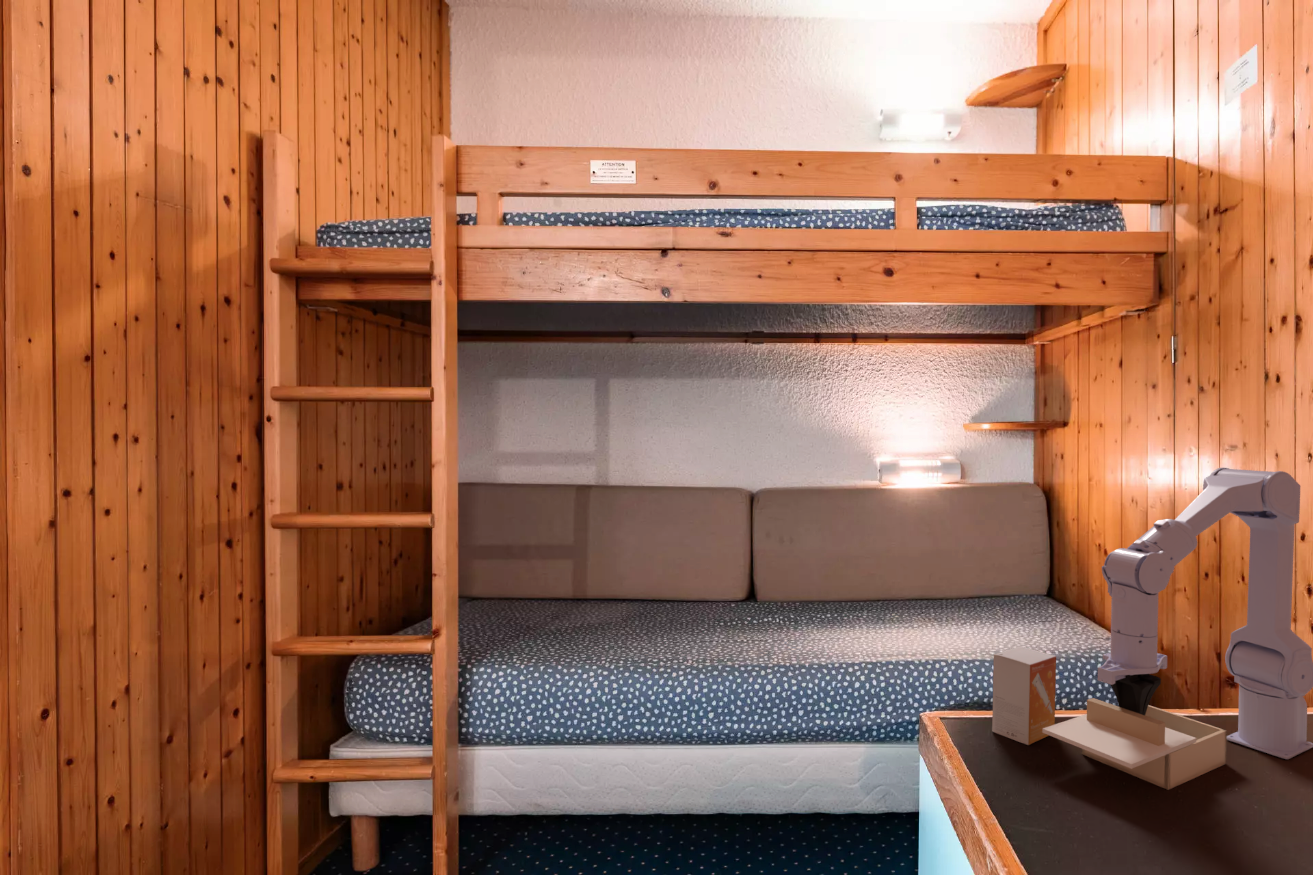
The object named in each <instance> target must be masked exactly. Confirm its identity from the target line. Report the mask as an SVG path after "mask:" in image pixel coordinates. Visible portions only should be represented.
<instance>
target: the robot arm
mask: <svg viewBox="0 0 1313 875" xmlns="http://www.w3.org/2000/svg"><path fill="white" fill-rule="evenodd" d="M1202 486H1203V487H1202V491H1201V492H1200V493H1199V495H1197V497H1196V498H1195V499H1193V500H1192V502H1190V503H1189V504H1188V506H1186V507H1185V509H1184V510H1182V512H1181V513H1180V514H1178V515H1177V516H1176V518H1175V519H1172V518H1165V519H1163V518H1162V519H1158V520H1157V521H1155V522H1154V523H1153V526H1152V527H1151V528H1149V529H1148V530H1147V531H1146V532H1144V534H1142V535H1141V536H1140V537H1139V538H1137V539H1136V540H1135V541H1134V542H1133V543H1131V544H1130V545H1129V546H1128V547H1127V548H1125V547H1121V548H1120V547H1119V548H1117V549H1115V550H1112V551H1111V552H1109V553H1108V555H1107V556H1106V558H1105V559H1104V563H1103V565H1102V566H1101V574H1102V576H1103V579H1104V580H1105V582H1106V584H1107V593H1108V594H1109V596H1110V597H1111V601H1110V602H1111V605H1110V606H1111V607H1110V608H1111V610H1110V613H1111V614H1110V617H1111V618H1110V652H1107V653H1103V654H1102V659H1103V660H1105V662H1104V664H1103V665H1101V666H1098V667H1097V681H1099V682H1101V683H1105V684H1108V685H1110V686H1111V688H1112V690H1113V693H1114V695H1115V698H1116V700H1117V704H1118V705H1117V706H1118V707H1121V708H1124V709H1127V710H1130V711H1133V712H1136V713H1139V714H1142V715H1145V714H1146V711H1147V708H1148V705H1149V704H1150V702H1151V700H1152V697H1153V696H1154V693H1155V692H1156V691H1157V689H1158V688H1159V686H1161V683H1162V679H1161V677H1159V676H1156V675H1153V674H1156V673H1158V672H1159V670H1160V669H1161V670H1165V669H1167V668H1168V655H1166V654H1162V653H1158V642H1159V641H1158V639H1159V638H1158V628H1159V627H1158V626H1159V624H1158V623H1159V593H1160V592H1161V591H1164V590H1165V589H1166V588H1167V586H1168V584H1169V582H1170V578H1171V576H1172V574H1173V573H1174V570H1175V567H1176V566H1177V565H1178V564H1179V563H1180V562H1182V561H1183V560H1184V559H1185V558H1186V557H1187V556H1189V555H1190V554H1191V553H1192V552H1193V551H1195V549H1196V548H1197V546H1198V539H1197V536H1199V535H1200V534H1202V533H1203V532H1204V531H1206V530H1207V529H1208V528H1210V527H1211V526H1213V525H1215V524H1216V523H1217V522H1218V521H1220V520H1221V519H1223V518H1224V517H1225V516H1227V515H1229V514H1232V515H1233V516H1236V517H1238V518H1239V519H1240V520H1241V521H1243V522H1244V523H1245V525H1246V526H1248V527H1249V552H1248V554H1249V556H1248V561H1249V562H1248V586H1247V587H1248V588H1247V589H1248V590H1247V616H1246V625H1244V626H1242V627H1240V628H1238V629H1236V630H1234V631H1232V632H1231V633H1230V640H1229V645H1228V647H1227V649H1226V652H1225V654H1224V655H1225V656H1224V660H1225V662H1224V663H1225V666H1226V669H1227V670H1228V672H1229V674H1230V675H1231V676H1234V679H1233V680H1234V681H1233V682H1234V683H1237V684H1238V714H1237V715H1238V720H1237V728H1238V730H1237V731H1236V732H1233V733H1230V734H1229V735H1228V734H1227V741H1230V742H1233V743H1236V744H1239V745H1242V746H1244V747H1248V748H1251V749H1254V750H1257V751H1259V752H1262V753H1265V754H1266V753H1267V754H1268V755H1272V756H1275V757H1278V758H1280V759H1282V760H1283V759H1285V760H1289V759H1292V758H1293V757H1296V756H1297V755H1300V754H1302V753H1304V752H1306V751H1308V750H1310V749H1312V748H1313V743H1312V742H1311V741H1307V738H1308V737H1307V732H1308V731H1307V730H1308V727H1307V726H1308V704H1307V702H1306V699H1305V696H1306V695H1307V694H1308V693H1309V692H1311V690H1312V689H1313V656H1312V654H1313V652H1312V649H1313V648H1312V647H1311V645H1309V644H1308V643H1307V642H1306V641H1304V639H1302V638H1301V637H1300V636H1298V635H1297V634H1296V633H1295V632H1294V631H1293V630H1292V629H1291V628H1292V609H1293V608H1292V607H1293V606H1292V604H1293V581H1294V579H1293V576H1294V575H1293V574H1294V550H1295V549H1294V547H1295V546H1294V545H1295V525H1296V524H1298V523H1300V515H1301V514H1300V512H1301V511H1300V510H1301V509H1300V508H1301V484H1299V482H1297V480H1296V479H1295V478H1294V477H1293V476H1292V475H1291V474H1290V473H1288V472H1286V471H1283V470H1277V471H1268V470H1267V471H1266V470H1254V469H1253V470H1251V469H1239V468H1238V469H1237V468H1236V469H1235V468H1228V467H1217V468H1216V469H1214V470H1213V471H1212V472H1211V473H1210V475H1207V476H1206V477H1204V480H1203V485H1202Z"/></svg>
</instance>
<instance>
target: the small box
mask: <svg viewBox="0 0 1313 875" xmlns="http://www.w3.org/2000/svg"><path fill="white" fill-rule="evenodd" d="M992 664H993V666H992V668H993V670H992V671H993V672H992V673H993V674H992V679H993V680H992V718H991V719H992V720H991V721H992V723H991V724H992V726H991V731H992V732H993V733H995V734H997V735H1000V736H1002V737H1005V738H1008V739H1011V740H1014V741H1016V742H1019V743H1021V744H1023V745H1027V746H1030V745H1032V744H1034V743H1035V742H1038V741H1040V740H1042V739H1044V738H1046V737H1049V736H1050V735H1047V734H1045V733H1042V729H1043V728H1045V727H1049V726H1052V725H1055V724H1056V723H1055V722H1056V721H1055V720H1056V719H1055V717H1056V688H1057V686H1056V682H1057V681H1056V680H1057V677H1056V675H1057V655H1053V654H1051V653H1046V652H1043V651H1040V650H1037V649H1034V648H1033V649H1032V648H1029V647H1025V646H1023V645H1020V646H1016V647H1013V648H1008V649H1006V650H1005V649H1004V650H1003V651H1001V652H1000V651H999V652H998V653H994V654H993V663H992Z"/></svg>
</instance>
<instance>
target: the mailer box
mask: <svg viewBox="0 0 1313 875" xmlns="http://www.w3.org/2000/svg"><path fill="white" fill-rule="evenodd" d="M1145 716H1148V717H1151V718H1154V719H1157V720H1159V721H1162V722H1165V727H1166V728H1169V729H1172V730H1175V731H1177V732H1180V733H1183V734H1186V735H1189V736H1192V737H1195V738H1196V743H1193V744H1191V745H1188V746H1186V747H1183V748H1181V749H1179V750H1176V751H1174V752H1171V753H1169V754H1166V755H1164V756H1161V757H1159V758H1157V759H1154V760H1152V761H1149V762H1147V763H1144V764H1142V765H1139V766H1137V767H1135V768H1132V769H1131V768H1129V767H1126V766H1124V765H1121V764H1119V763H1116V762H1114V761H1111V760H1109V759H1106V758H1104V757H1101V756H1099V755H1097V754H1094V753H1092V752H1089V751H1087V750H1084V749H1082V748H1081V755H1082V756H1085V757H1088V758H1090V759H1092V760H1095V761H1096V762H1097V761H1098V762H1100V763H1102V764H1104V765H1107V766H1109V767H1112V768H1114V769H1116V770H1119V771H1121V772H1124V773H1125V774H1128V775H1131V776H1133V777H1137V779H1138V778H1139V779H1140V780H1143V781H1146V782H1148V783H1150V784H1153V785H1155V786H1158V787H1160V788H1163V789H1166V790H1168V791H1169V790H1172V789H1173V788H1175V787H1177V786H1180V785H1182V784H1184V783H1186V782H1188V781H1191V780H1194V779H1195V778H1198V777H1200V776H1201V775H1204V774H1206V773H1208V772H1210V771H1213V770H1215V769H1217V768H1220V767H1222V766H1224V765H1226V764H1227V741H1228V740H1227V736H1228V734H1227V732H1228V731H1227V730H1226V729H1222V728H1219V727H1216V726H1214V725H1211V724H1208V723H1204V722H1201V721H1198V720H1196V719H1193V718H1189V717H1187V716H1184V715H1180V714H1177V713H1173V712H1170V711H1169V710H1168V711H1167V710H1165V709H1162V708H1159V707H1156V706H1152V705H1148V708H1147V711H1146V714H1145Z"/></svg>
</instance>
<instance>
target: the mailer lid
mask: <svg viewBox="0 0 1313 875" xmlns="http://www.w3.org/2000/svg"><path fill="white" fill-rule="evenodd" d="M1042 733H1045V734H1047V735H1049V736H1050V737H1053V738H1055V739H1057V740H1060V741H1062V742H1065V743H1067V744H1070V745H1072V746H1075V747H1077V748H1080V749H1081V750H1082V749H1084V750H1087V751H1089V752H1092V753H1094V754H1097V755H1099V756H1101V757H1104V758H1106V759H1109V760H1111V761H1114V762H1116V763H1119V764H1121V765H1124V766H1126V767H1129V768H1131V769H1132V768H1135V767H1137V766H1139V765H1142V764H1144V763H1147V762H1149V761H1152V760H1154V759H1157V758H1159V757H1161V756H1164V755H1166V754H1169V753H1171V752H1174V751H1176V750H1179V749H1181V748H1183V747H1186V746H1188V745H1191V744H1193V743H1196V738H1195V737H1192V736H1189V735H1186V734H1183V733H1180V732H1177V731H1175V730H1172V729H1169V728H1166V727H1165V722H1162V721H1159V720H1157V719H1154V718H1151V717H1148V716H1145V715H1142V714H1139V713H1136V712H1133V711H1130V710H1127V709H1124V708H1121V707H1119V705H1115V704H1112V703H1110V702H1106V701H1104V700H1100V699H1097V698H1094V697H1093V698H1089V699H1086V713H1085V714H1082V715H1079V716H1076V717H1073V718H1070V719H1068V720H1067V719H1066V720H1065V721H1062V722H1058V723H1055V725H1052V726H1049V727H1045V728H1043V729H1042Z"/></svg>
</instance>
